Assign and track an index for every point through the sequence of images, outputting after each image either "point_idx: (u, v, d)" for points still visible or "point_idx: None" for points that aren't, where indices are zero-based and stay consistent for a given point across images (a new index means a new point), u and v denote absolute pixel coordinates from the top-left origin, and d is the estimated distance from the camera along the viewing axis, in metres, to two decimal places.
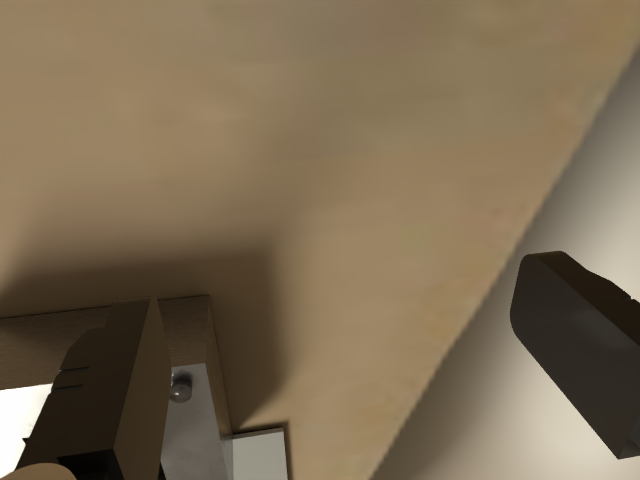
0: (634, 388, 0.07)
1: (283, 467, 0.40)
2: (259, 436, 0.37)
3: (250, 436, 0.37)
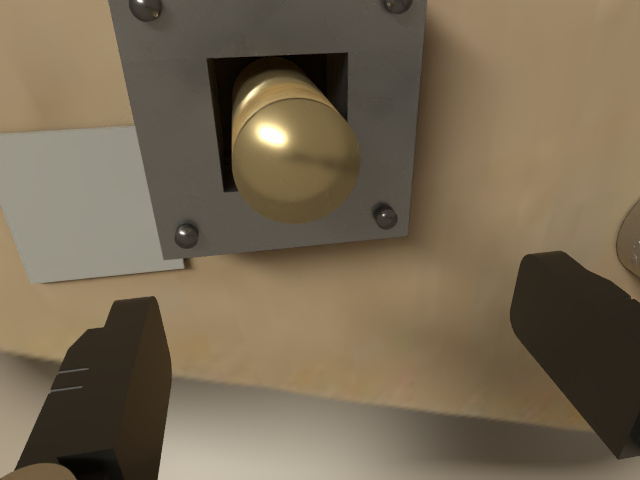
0: (634, 388, 0.07)
1: (113, 272, 0.32)
2: None
3: None
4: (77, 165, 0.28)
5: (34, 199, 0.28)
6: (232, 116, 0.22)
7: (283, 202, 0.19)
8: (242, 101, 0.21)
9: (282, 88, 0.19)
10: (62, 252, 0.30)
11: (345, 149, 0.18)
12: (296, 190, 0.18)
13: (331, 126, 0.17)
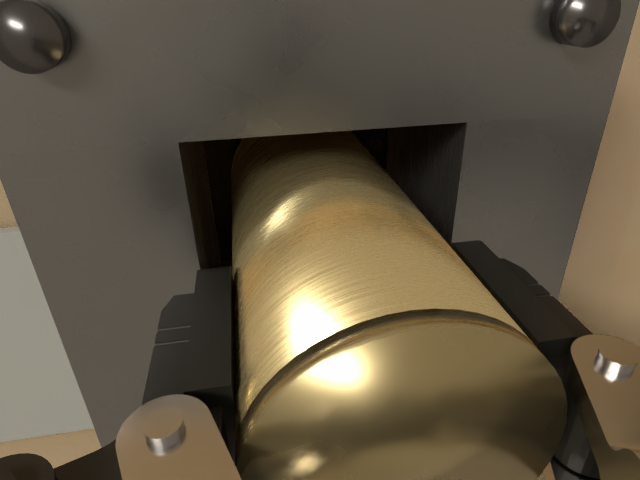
0: None
1: (49, 430, 0.20)
2: None
3: None
4: None
5: None
6: (233, 249, 0.11)
7: None
8: (255, 239, 0.10)
9: (357, 241, 0.08)
10: None
11: (532, 418, 0.07)
12: None
13: (510, 377, 0.06)
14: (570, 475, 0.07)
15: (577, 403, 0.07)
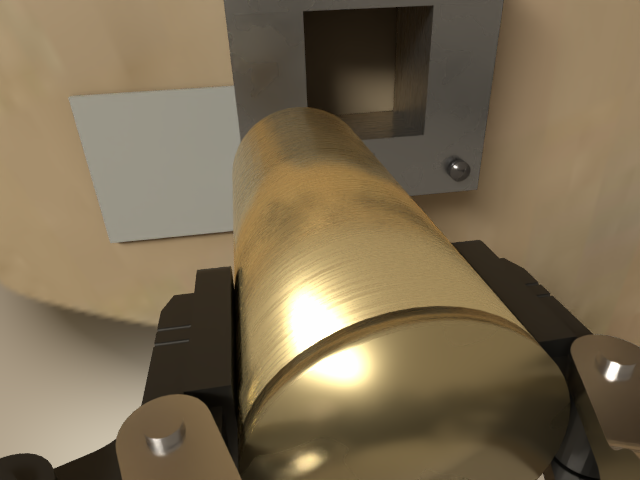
0: None
1: (187, 232, 0.33)
2: None
3: None
4: (160, 125, 0.29)
5: (119, 159, 0.30)
6: (235, 247, 0.11)
7: None
8: (257, 238, 0.10)
9: (360, 239, 0.08)
10: (141, 212, 0.32)
11: (535, 416, 0.07)
12: None
13: (514, 374, 0.06)
14: (570, 475, 0.07)
15: (577, 403, 0.07)
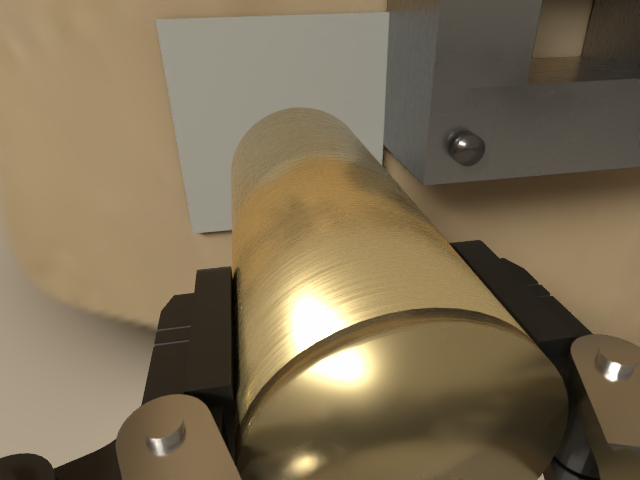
0: None
1: None
2: None
3: None
4: (279, 67, 0.21)
5: (217, 115, 0.21)
6: (233, 248, 0.11)
7: None
8: (255, 239, 0.09)
9: (357, 240, 0.08)
10: None
11: (533, 418, 0.07)
12: None
13: (511, 376, 0.06)
14: (570, 475, 0.07)
15: (577, 403, 0.07)
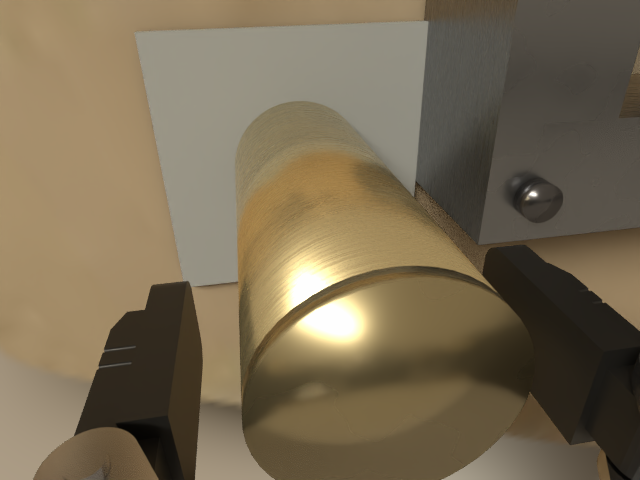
0: (583, 375, 0.08)
1: None
2: None
3: None
4: (290, 90, 0.17)
5: (213, 148, 0.17)
6: (238, 228, 0.12)
7: (355, 469, 0.08)
8: (258, 217, 0.10)
9: (350, 213, 0.09)
10: None
11: (504, 367, 0.08)
12: (385, 447, 0.08)
13: (482, 327, 0.07)
14: None
15: None
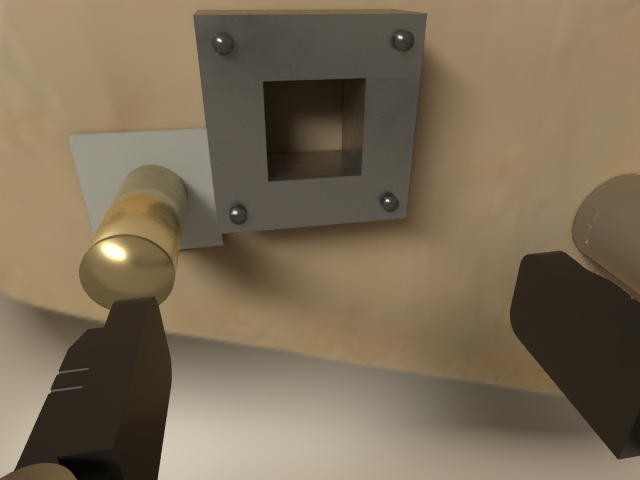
0: (634, 388, 0.07)
1: None
2: None
3: None
4: (145, 160, 0.35)
5: (109, 186, 0.35)
6: None
7: (121, 299, 0.27)
8: (103, 220, 0.29)
9: (122, 219, 0.27)
10: None
11: (161, 265, 0.26)
12: (129, 292, 0.26)
13: (148, 252, 0.25)
14: None
15: None
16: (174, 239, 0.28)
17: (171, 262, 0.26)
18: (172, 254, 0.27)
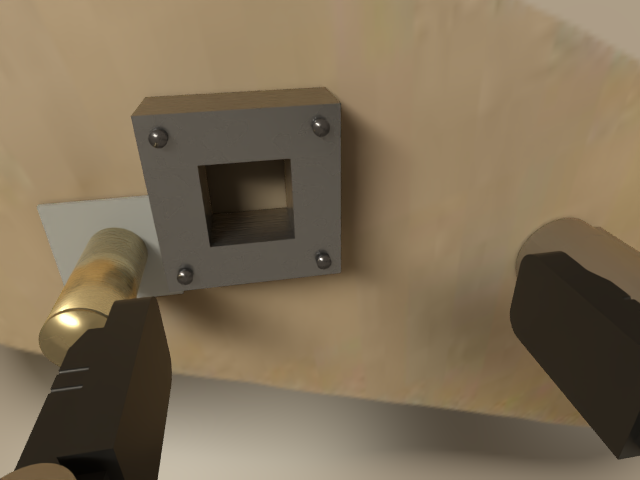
0: (634, 388, 0.07)
1: None
2: None
3: None
4: (107, 223, 0.39)
5: (76, 247, 0.40)
6: None
7: None
8: (63, 288, 0.33)
9: (77, 291, 0.31)
10: None
11: None
12: None
13: (98, 322, 0.30)
14: None
15: None
16: None
17: None
18: None
